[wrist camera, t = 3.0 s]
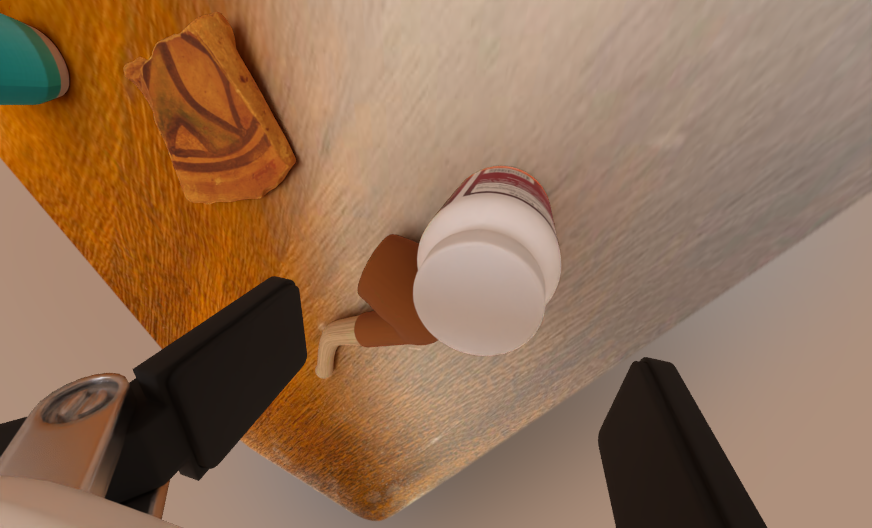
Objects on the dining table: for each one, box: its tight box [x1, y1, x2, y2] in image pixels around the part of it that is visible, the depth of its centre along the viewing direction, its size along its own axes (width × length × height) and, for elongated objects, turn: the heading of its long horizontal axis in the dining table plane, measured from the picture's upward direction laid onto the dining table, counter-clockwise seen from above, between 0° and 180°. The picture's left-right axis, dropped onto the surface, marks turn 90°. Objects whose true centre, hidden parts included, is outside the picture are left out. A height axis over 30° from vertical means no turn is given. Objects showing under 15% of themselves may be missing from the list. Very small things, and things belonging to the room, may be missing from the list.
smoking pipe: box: [315, 234, 438, 379], centre depth 25 cm, size 7×18×6 cm, turn 145°
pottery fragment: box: [124, 12, 296, 204], centre depth 22 cm, size 10×5×10 cm
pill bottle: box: [413, 166, 561, 356], centre depth 16 cm, size 6×6×11 cm
